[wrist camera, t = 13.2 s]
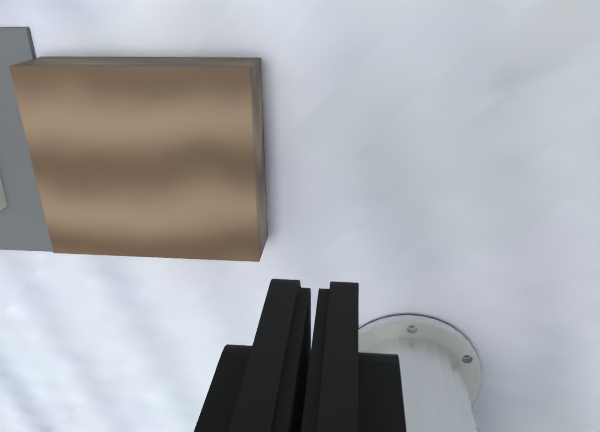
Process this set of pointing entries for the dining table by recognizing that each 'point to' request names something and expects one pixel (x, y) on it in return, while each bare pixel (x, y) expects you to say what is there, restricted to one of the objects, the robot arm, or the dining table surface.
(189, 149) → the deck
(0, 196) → the cream box
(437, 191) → the dining table surface
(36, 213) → the mat
